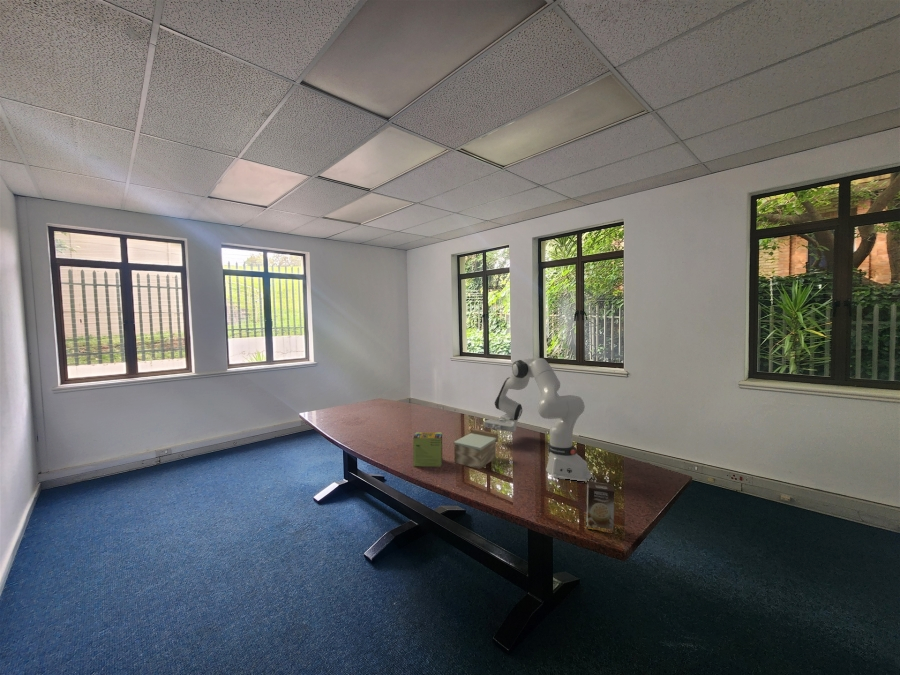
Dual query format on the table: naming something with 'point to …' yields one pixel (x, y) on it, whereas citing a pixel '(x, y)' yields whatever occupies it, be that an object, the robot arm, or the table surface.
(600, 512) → the coffee box
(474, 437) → the lid
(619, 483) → the table surface
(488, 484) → the table surface
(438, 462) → the protein box
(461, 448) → the crate
